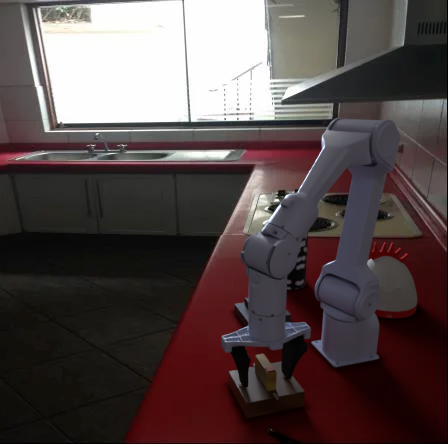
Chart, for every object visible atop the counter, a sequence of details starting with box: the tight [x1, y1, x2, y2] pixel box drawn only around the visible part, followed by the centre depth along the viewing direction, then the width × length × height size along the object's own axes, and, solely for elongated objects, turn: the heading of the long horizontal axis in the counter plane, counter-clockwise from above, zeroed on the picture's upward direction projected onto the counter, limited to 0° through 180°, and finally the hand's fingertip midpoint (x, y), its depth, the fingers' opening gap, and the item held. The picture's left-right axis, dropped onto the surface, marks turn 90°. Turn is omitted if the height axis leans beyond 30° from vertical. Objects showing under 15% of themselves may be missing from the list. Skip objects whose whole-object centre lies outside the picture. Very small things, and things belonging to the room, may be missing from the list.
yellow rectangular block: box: [254, 353, 277, 391], centre depth 69 cm, size 5×2×4 cm, turn 11°
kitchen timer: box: [367, 241, 418, 319], centre depth 95 cm, size 14×14×15 cm
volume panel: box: [228, 361, 306, 419], centre depth 70 cm, size 10×9×3 cm
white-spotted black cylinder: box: [273, 206, 309, 290], centre depth 107 cm, size 8×8×20 cm
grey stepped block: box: [233, 296, 292, 328], centre depth 93 cm, size 10×8×4 cm
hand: (265, 379), depth 70 cm, fingers open, 7 cm apart
